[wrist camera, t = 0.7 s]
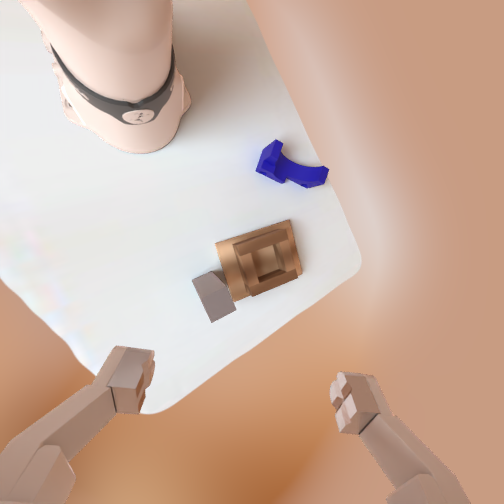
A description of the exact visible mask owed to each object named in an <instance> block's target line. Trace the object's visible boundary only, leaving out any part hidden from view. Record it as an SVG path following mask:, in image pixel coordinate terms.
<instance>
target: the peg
mask: <svg viewBox="0 0 504 504" xmlns="http://www.w3.org/2000/svg"><path fill="white" fill-rule="evenodd" d="M192 282H193V284H194V286H195V289H196V291H197V293H198V295H199V297H200V300H201V302H202V304H203V306H204V308H205V310H206V312H207V314H208V316H209V318H210V321H211V323H212V322H214V321H216V320H218V319H220V318H222V317H224V316H226V315H228V314H230V313H232V312H233V311H235V310H236V307H235V305H234V303H233V300H232V298H231V296H230V293H229V291H228V288H227V286H226V285H225V284H224V283H223V282H222V281H221V280H220V279H219V278H218V277H217V276H216V275H215V274H214V273H213V272H212V271H211V272H209V273H206V274H204V275H202V276H200V277H198V278H195V279H193V280H192Z"/></svg>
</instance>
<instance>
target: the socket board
mask: <svg viewBox="0 0 504 504" xmlns="http://www.w3.org/2000/svg"><path fill="white" fill-rule="evenodd" d="M215 246H216V249H217V253H218V256H219V259H220V262H221V265H222V268H223V272H224V275H225V278H226V281H227V284H228V288H229V291H230V294H231V297H232V300H233V302H236V301H238V300H240V299H243V298H245V297H248V296H250V295H251V296H252V297H253V296H256V295H258V294H261V293H263V292H265V291H268V290H270V289H273V288H275V287H277V286H280V285H282V284H285V283H287V282H289V281H292V280H294V279H297V278H298V276H299V275H301V274H302V270H301V266H300V262H299V258H298V254H297V250H296V245H295V241H294V237H293V233H292V229H291V225H290V221H289V220H286V221H283V222H280V223H277V224H274V225H271V226H268V227H264V228H261V229H258V230H255V231H252V232H249V233H246V234H243V235H240V236H237V237H234V238H231V239H228V240H225V241H221V242H218V243H215Z"/></svg>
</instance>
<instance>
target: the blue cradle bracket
mask: <svg viewBox="0 0 504 504" xmlns="http://www.w3.org/2000/svg"><path fill="white" fill-rule="evenodd" d="M282 146H283V143H282V142H280V141H278V140H274V141H273V142H272V143H271V144H269V145H268V146H267V147H265V148H264V149H263V151H262V154H261V157H260V160H259V162H258V165H257V168H256V172H258V173H260V174H263V175H265V176H267V177H269V178H271V179H273V180H275V181H277V182H279V183H281V184H282V183H284V182H285V179H286V178H287V179H289V180H291V181H293V182H295V183H297V184H299V185H301V186H303V187H305V188H311V187H315V186H319V185H323V184H324V183H325V180H326V177H327V175H328V171H329V169H328V168H326V167H324V166H321V167H307V166H303V165H299V164H296V163H294V162H292V161H290V160H289V159H287V158H286V157H285V156H284V155H283V154H282V152H281V149H282Z"/></svg>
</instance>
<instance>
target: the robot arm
mask: <svg viewBox="0 0 504 504" xmlns="http://www.w3.org/2000/svg"><path fill="white" fill-rule="evenodd" d="M18 1H19V2H20V3H21V5H22V6H23V7H24V8H25V9H26V10H27V11H28V13H29V14H30V15H31V17H32V18H33V19H34V21H35V22H36V23H37V25H38V26H39V28H40V29H41V34H42V38H43V41H44V44H45V46H46V48H47V50H48V52H49V53H51V54H53V57H54V62H55V63H52V67H53V71H54V73H55V75H56V76H57V78H58V83H59V89H60V94H61V99H62V105H63V110H64V114H65V115H66V117H67V119H68V120H69V121H70V122H72V123H74V124H76V125H78V126H81V127H83V128H86V129H89V130H90V131H92V132H93V133H95V134H96V135H97V136H98V137H100V138H101V139H102V140H103V141H105V142H106V143H108V144H109V145H111V146H113V147H115V148H117V149H119V150H122V151H125V152H129V153H137V154H143V153H150V152H154V151H156V150H159V149H161V148H162V147H164V146H165V145H167V144H168V143H169V142H170V141H171V140H172V138H173V137H174V135H175V133H176V131H177V129H178V125H179V122H180V119H181V117H182V115H183V114H184V113H185V112H186V111H187V110H188V108H189V107H190V105H191V97H190V95H189V92H188V90H187V88H186V86H185V84H184V80H183V76H182V75H181V74H179V71H178V69H177V67H176V64H175V57H174V50H173V45H172V19H173V4H172V0H18ZM70 105H71V106H72V107H70ZM153 358H154V350H147V349H139V348H131V347H124V346H115V347H114V348H113V349H112V351H111V352H110V354H109V356H108V357H107V359H106V361H105V362H104V364H103V366H102V368H101V369H100V371H99V373H98V374H97V376H96V378H95V379H94V381H93V383H92V384H91V385H86V386H85V387H83V388H82V389H81V390H79V391H78V392H77V393H75V394H74V395H72V396H71V397H70V398H68V399H67V400H66V401H64V402H63V403H61V404H60V405H59V406H57V407H56V408H55V409H53V410H52V411H50V412H49V413H48V414H46V415H45V416H44V417H42V418H41V419H40V420H38V421H37V422H35V423H34V424H33V425H31V426H30V427H28V428H27V429H26V430H24V431H23V432H21V433H20V434H19V435H17V436H16V437H15V438H13V439H12V440H11V441H10V442H9V443H8V445H7V446H6V447H5V449H4V450H3V452H2V453H1V454H0V504H65V502H66V500H67V498H68V495H69V494H70V491H71V489H72V487H73V485H74V483H75V481H76V477H75V474H74V472H73V470H72V468H71V466H70V464H69V463H68V462H69V461H70V460H71V459H72V458H73V457H74V456H75V455H76V454H77V453H78V452H79V451H80V450H81V449H82V448H83V447H84V446H85V445H86V444H87V443H88V442H89V441H90V440H91V439H92V438H93V437H94V436H95V435H96V434H97V433H98V432H99V431H100V430H101V429H102V428H103V427H104V426H105V425H106V424H107V423H108V422H109V421H110V420H111V419H112V418H113V417H114V416H115V415H116V413H124V414H139V413H140V410H141V407H142V405H143V402H144V399H145V397H146V396H145V389H146V388H147V387H149V386H150V383H151V381H152V378H153V374H154V369H155V362H154V361H153ZM330 399H331V402H332V405H333V406H334V407H335V408H336V409H337V411H336V414H335V417H336V421H337V424H338V428H339V432H340V433H347V434H355V435H359V437H360V439H361V440H362V442H363V443H364V444H365V446H366V447H367V449H368V450H369V452H370V453H371V455H372V456H373V457H374V459H375V460H376V462H377V463H378V464H379V466H380V467H381V469H382V470H383V472H384V473H385V474H386V476H387V477H388V478H389V480H390V481H391V483H392V484H393V486H394V487H395V488H396V490H395V491H393V492H392V493H390V494H389V495H388V496H387V498H386V500H387V503H388V504H471V503H470V501H469V499H468V497H467V496H466V494H465V492H464V490H463V488H462V487H461V485H460V483H459V481H458V479H457V478H456V476H455V475H454V474H453V473H452V472H451V470H450V469H448V467H447V466H446V465H444V463H442V461H441V460H440V459H439V458H438V457H437V456H436V455H435V454H434V453H433V452H432V451H431V450H430V449H429V448H428V447H427V446H426V445H425V444H424V443H423V442H422V441H421V440H420V439H419V438H418V437H417V436H416V435H415V434H414V433H413V432H412V431H411V430H410V429H409V428H408V427H407V426H406V425H405V424H404V423H403V422H402V421H401V420H400V419H399V418H398V417H397V416H394V415H393V414H392V411H391V409H390V407H389V405H388V403H387V401H386V399H385V396H384V394H383V392H382V390H381V388H380V386H379V384H378V382H377V379H376V378H375V377H374V376H373V375H367V374H360V373H350V372H339V373H338V374H337V380H335V381H333V382H332V384H331V386H330Z"/></svg>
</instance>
